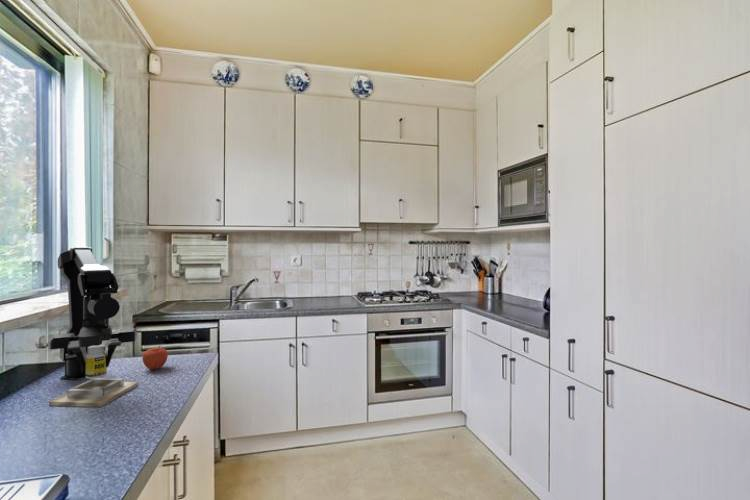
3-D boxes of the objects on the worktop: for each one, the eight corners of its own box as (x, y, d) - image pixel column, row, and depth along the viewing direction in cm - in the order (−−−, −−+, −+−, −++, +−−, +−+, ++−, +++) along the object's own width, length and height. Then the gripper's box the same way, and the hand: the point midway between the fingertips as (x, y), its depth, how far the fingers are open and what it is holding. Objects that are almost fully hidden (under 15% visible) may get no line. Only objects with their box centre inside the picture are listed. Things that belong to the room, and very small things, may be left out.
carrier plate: (49, 405, 94) (49, 394, 94) (93, 384, 108) (93, 374, 108) (100, 406, 93) (100, 395, 93) (138, 385, 107) (138, 375, 107)
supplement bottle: (95, 379, 98) (94, 349, 98) (81, 378, 99) (80, 348, 99) (111, 373, 102) (111, 344, 102) (97, 372, 103) (97, 343, 103)
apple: (148, 365, 125) (148, 343, 124) (171, 364, 126) (171, 342, 126) (138, 373, 117) (138, 349, 117) (162, 372, 119) (162, 348, 118)
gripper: (42, 322, 89) (42, 384, 89) (132, 316, 97) (132, 372, 98) (56, 314, 99) (57, 369, 99) (137, 309, 107) (137, 360, 108)
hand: (96, 368), depth 101 cm, fingers closed on supplement bottle, 5 cm apart
